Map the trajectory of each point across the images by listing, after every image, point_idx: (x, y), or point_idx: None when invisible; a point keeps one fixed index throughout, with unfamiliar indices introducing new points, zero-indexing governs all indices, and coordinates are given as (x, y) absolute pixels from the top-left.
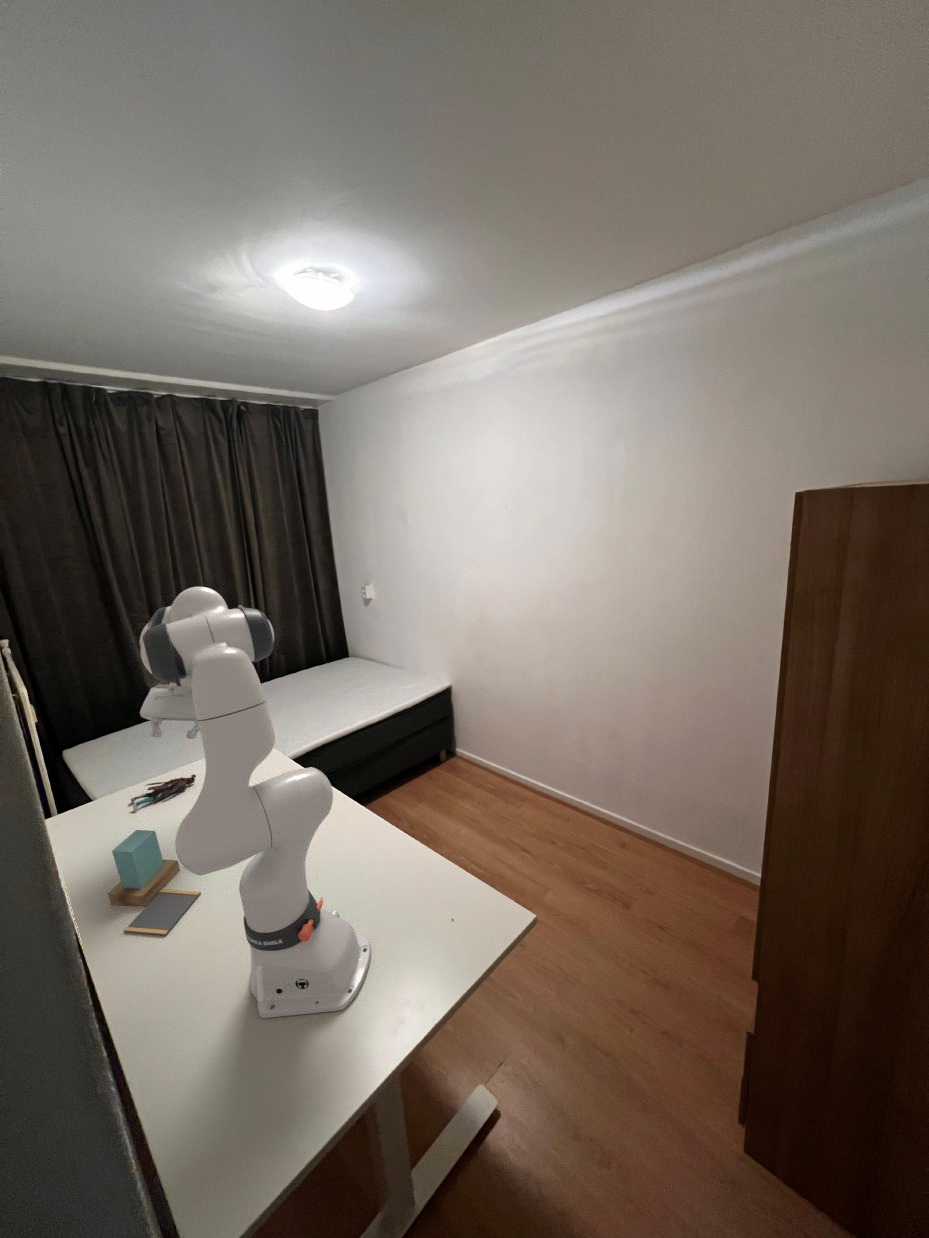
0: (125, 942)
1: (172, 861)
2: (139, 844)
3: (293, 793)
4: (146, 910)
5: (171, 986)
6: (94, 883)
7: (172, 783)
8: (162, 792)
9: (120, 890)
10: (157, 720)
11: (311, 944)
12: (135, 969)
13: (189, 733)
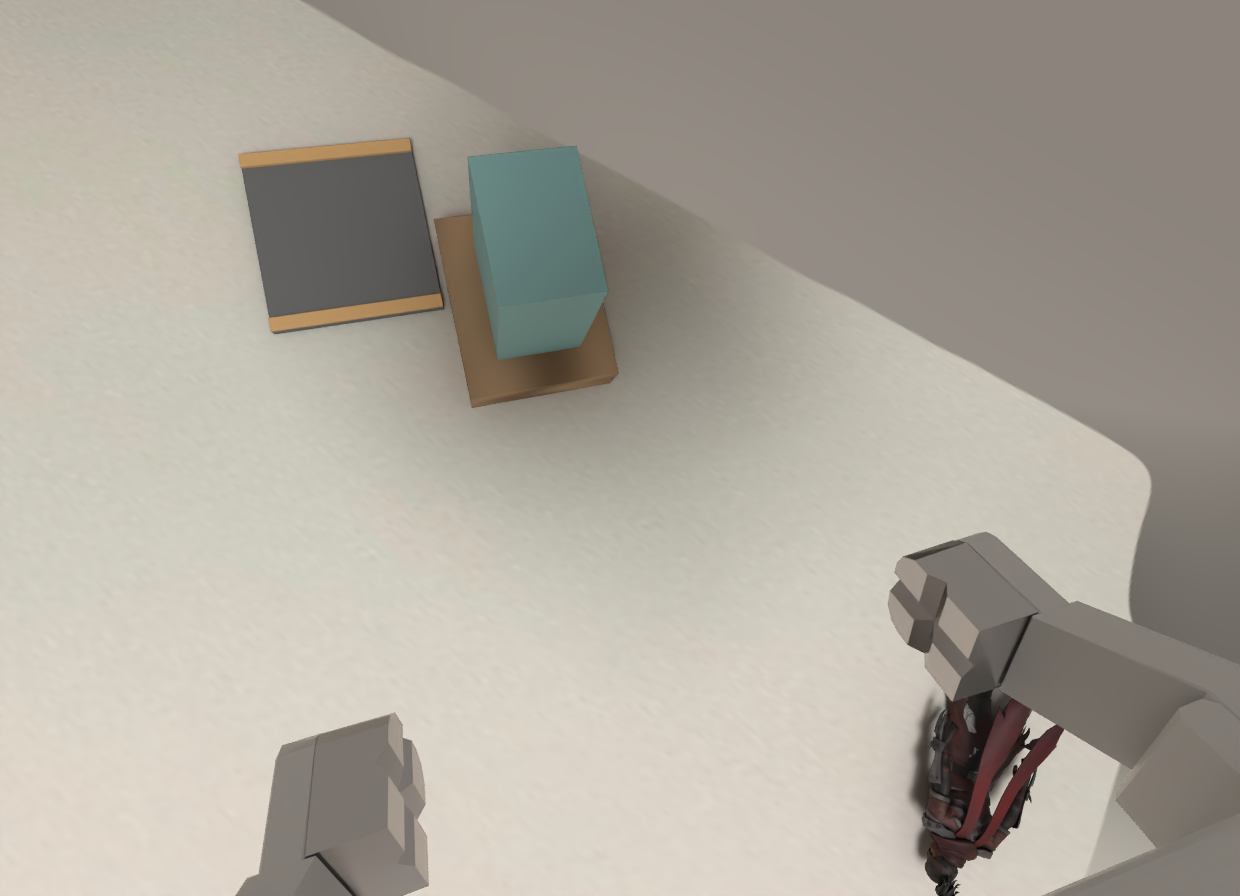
0: (368, 117)
1: (486, 388)
2: (480, 208)
3: None
4: (410, 220)
5: (46, 20)
6: (729, 280)
7: (976, 792)
8: (971, 734)
9: None
10: (1199, 769)
11: None
12: (233, 47)
13: (332, 783)
